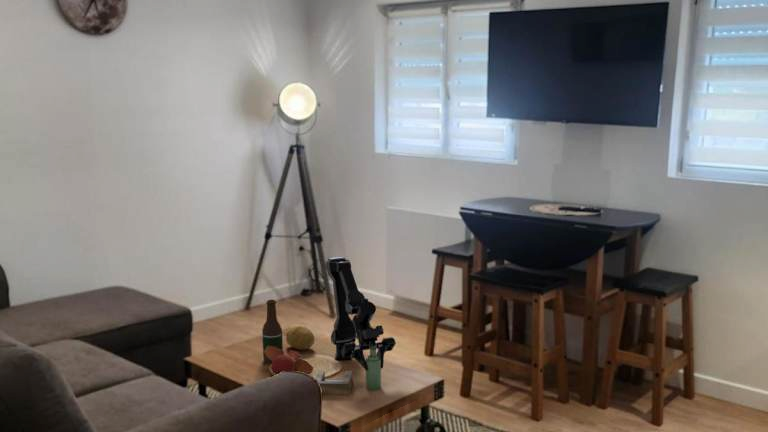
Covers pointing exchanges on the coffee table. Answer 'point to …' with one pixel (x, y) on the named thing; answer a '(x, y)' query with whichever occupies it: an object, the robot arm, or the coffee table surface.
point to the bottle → (373, 370)
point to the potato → (300, 338)
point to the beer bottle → (271, 330)
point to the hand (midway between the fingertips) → (374, 369)
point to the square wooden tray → (335, 384)
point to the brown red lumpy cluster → (286, 361)
